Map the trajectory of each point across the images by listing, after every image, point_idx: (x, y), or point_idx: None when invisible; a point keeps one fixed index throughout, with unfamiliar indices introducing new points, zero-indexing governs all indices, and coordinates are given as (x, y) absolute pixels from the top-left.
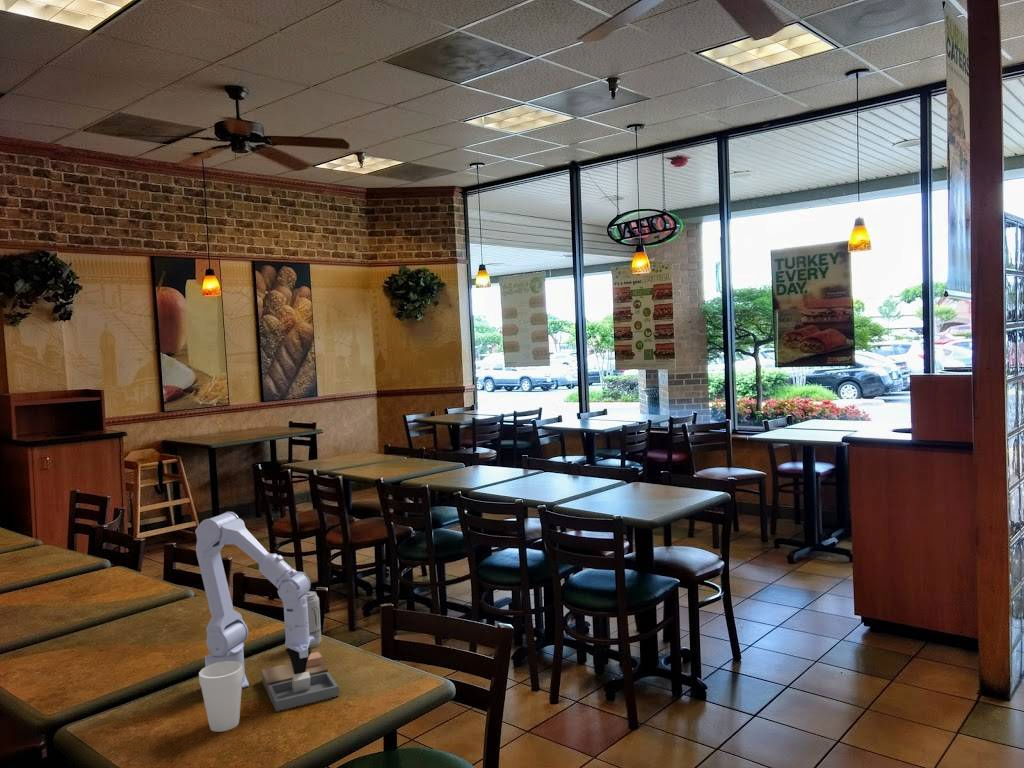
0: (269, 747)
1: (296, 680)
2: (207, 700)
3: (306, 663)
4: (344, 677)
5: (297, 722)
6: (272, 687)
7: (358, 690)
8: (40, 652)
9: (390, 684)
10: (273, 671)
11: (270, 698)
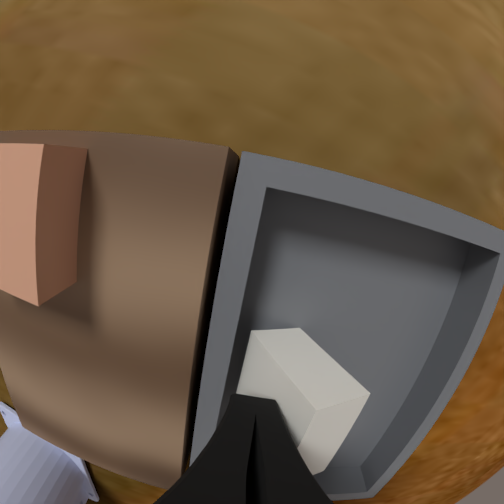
0: (484, 469)
1: (327, 462)
2: None
3: (318, 485)
4: (269, 54)
5: (479, 422)
6: None
7: (484, 113)
8: None
9: (489, 3)
10: (52, 420)
11: None
